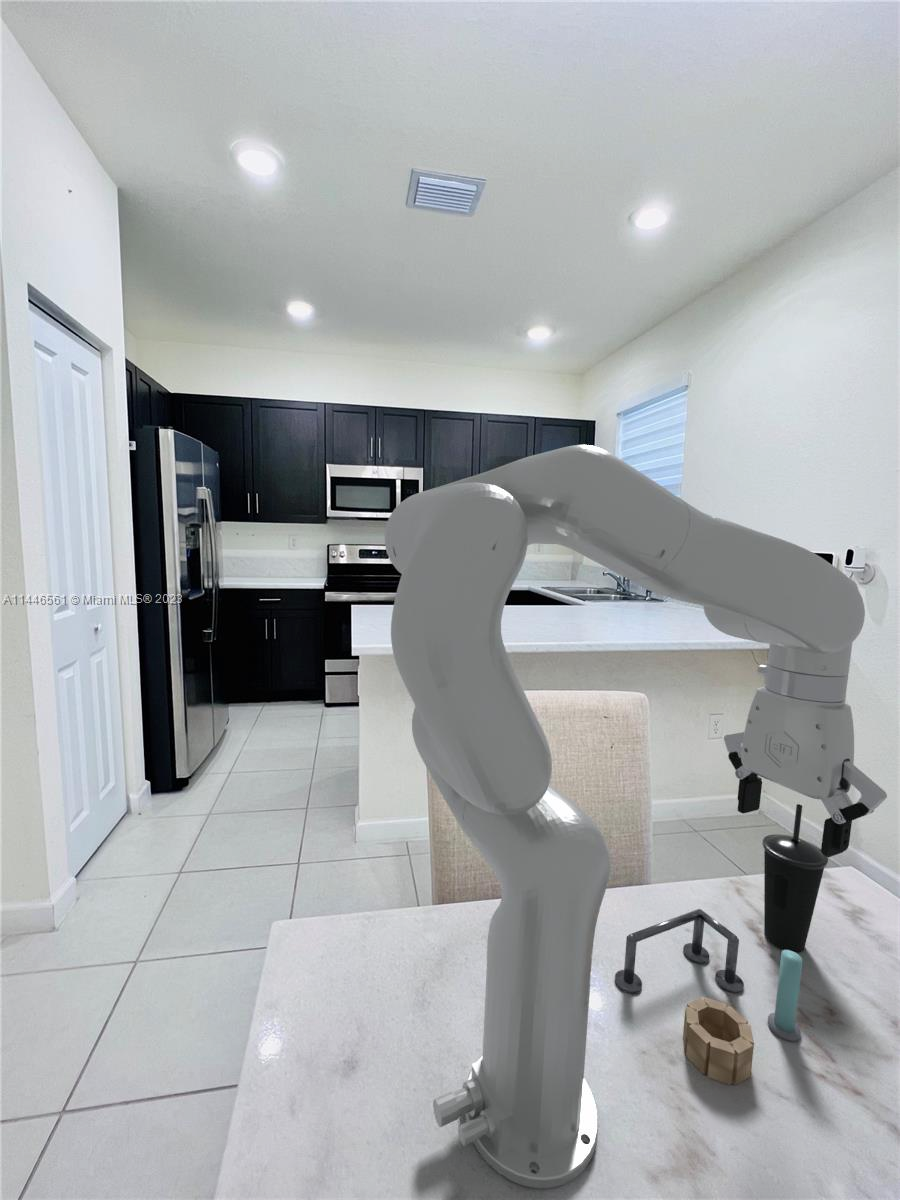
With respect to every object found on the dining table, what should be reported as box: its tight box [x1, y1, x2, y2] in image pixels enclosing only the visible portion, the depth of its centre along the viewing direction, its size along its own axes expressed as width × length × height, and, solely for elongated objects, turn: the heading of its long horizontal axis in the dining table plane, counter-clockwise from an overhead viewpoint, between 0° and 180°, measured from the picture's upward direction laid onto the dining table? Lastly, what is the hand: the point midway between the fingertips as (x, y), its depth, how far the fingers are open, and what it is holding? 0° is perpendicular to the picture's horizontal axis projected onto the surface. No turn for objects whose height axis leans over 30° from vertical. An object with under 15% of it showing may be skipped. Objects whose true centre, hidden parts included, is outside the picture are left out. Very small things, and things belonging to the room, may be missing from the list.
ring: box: [682, 996, 755, 1086], centre depth 58 cm, size 6×6×4 cm
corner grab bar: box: [614, 908, 745, 995], centre depth 67 cm, size 15×8×6 cm, turn 115°
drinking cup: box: [761, 803, 829, 954], centre depth 74 cm, size 8×8×20 cm
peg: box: [767, 950, 803, 1043], centre depth 61 cm, size 3×3×9 cm
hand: (787, 830), depth 61 cm, fingers open, 9 cm apart
